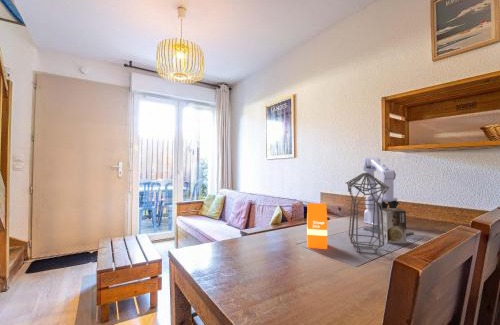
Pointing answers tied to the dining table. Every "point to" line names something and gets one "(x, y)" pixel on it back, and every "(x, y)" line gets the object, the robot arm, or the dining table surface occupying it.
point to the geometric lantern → (366, 204)
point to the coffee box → (394, 225)
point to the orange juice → (316, 226)
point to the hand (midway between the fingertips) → (388, 214)
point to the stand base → (381, 230)
